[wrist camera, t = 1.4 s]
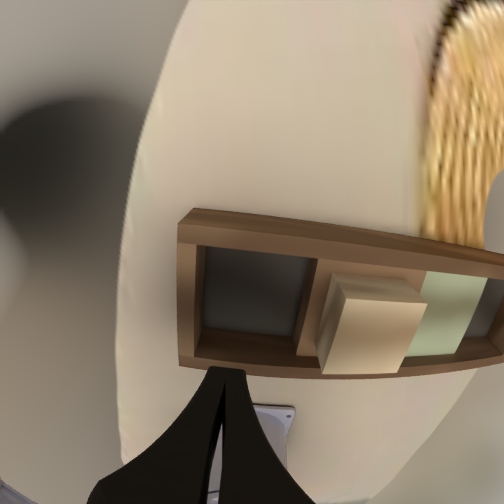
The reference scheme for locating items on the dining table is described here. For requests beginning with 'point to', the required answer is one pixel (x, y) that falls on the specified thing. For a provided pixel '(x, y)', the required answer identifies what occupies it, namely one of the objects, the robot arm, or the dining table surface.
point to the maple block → (367, 324)
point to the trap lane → (324, 294)
